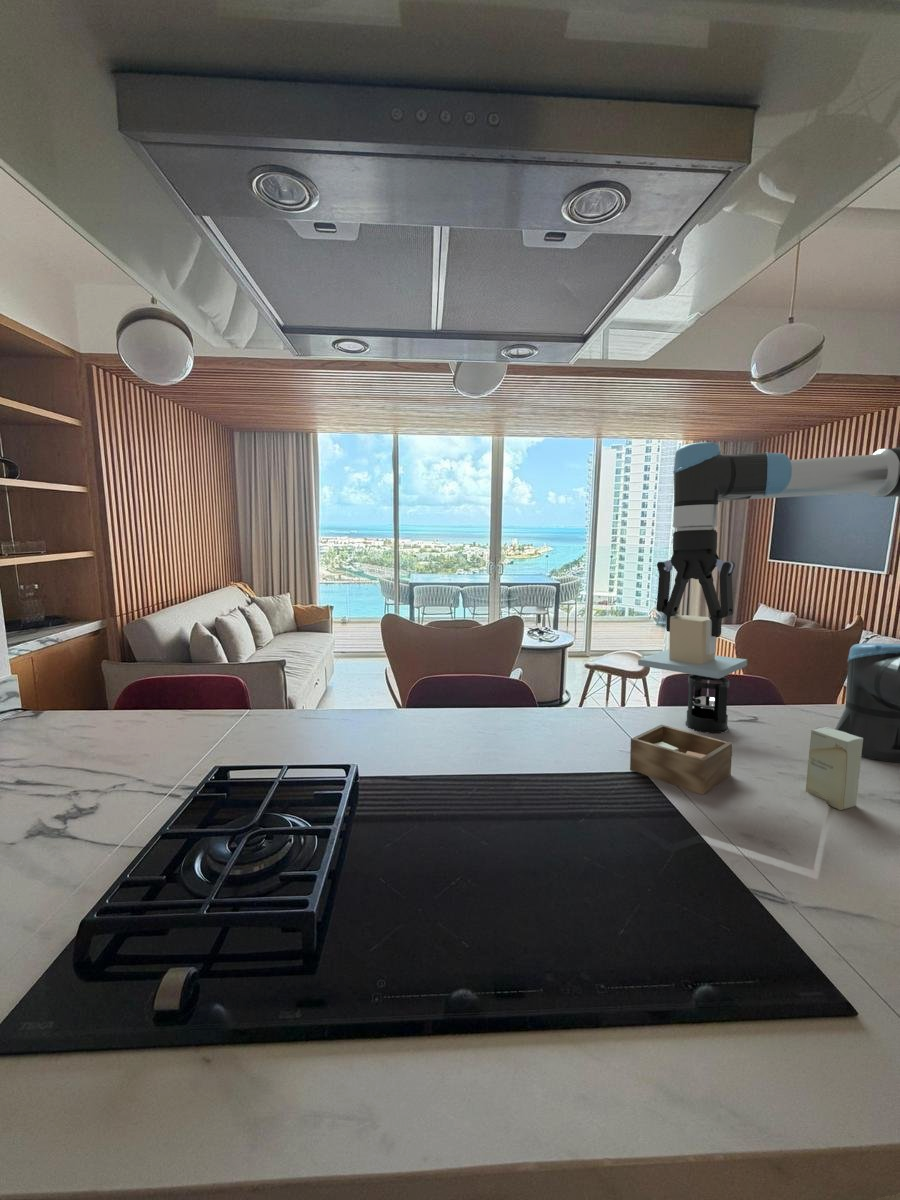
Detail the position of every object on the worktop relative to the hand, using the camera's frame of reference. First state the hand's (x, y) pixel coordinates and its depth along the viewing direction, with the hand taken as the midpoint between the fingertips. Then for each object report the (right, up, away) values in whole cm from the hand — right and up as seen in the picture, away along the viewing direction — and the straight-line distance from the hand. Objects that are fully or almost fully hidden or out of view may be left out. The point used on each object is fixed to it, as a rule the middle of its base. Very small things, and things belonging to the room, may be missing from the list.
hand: (692, 650), depth 99 cm
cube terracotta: (0, -24, -1) cm, 24 cm away
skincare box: (+20, -25, -9) cm, 33 cm away
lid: (0, -3, 0) cm, 3 cm away
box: (-2, -24, +1) cm, 24 cm away
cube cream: (-4, -23, +4) cm, 24 cm away
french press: (+16, -22, +27) cm, 38 cm away
